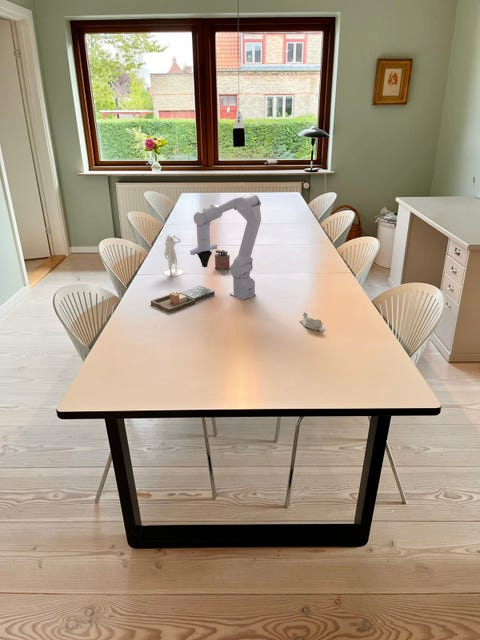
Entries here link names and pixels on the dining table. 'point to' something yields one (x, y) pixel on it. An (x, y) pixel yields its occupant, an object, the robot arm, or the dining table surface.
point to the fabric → (312, 323)
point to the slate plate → (198, 293)
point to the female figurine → (171, 256)
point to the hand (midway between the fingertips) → (204, 266)
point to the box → (171, 304)
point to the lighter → (222, 260)
